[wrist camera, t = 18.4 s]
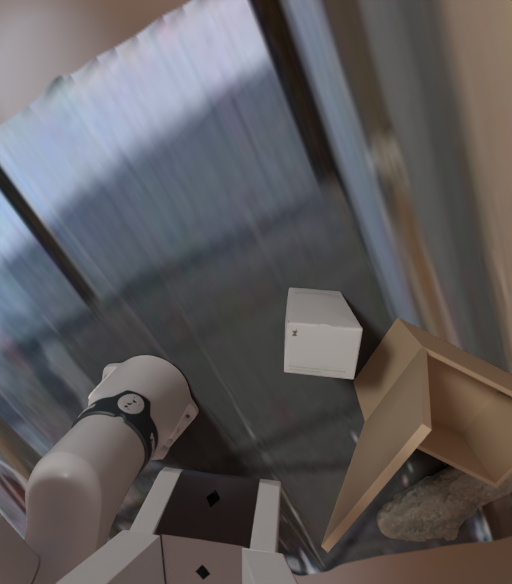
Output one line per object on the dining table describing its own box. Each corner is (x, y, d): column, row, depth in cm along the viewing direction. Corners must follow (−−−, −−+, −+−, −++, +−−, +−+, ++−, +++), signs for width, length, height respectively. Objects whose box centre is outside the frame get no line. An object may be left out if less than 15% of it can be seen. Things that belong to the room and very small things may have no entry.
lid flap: (327, 552, 23) (321, 546, 24) (368, 426, 42) (364, 423, 42) (431, 430, 19) (422, 423, 20) (426, 349, 38) (421, 346, 38)
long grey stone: (573, 443, 51) (537, 400, 51) (604, 468, 46) (564, 420, 46) (396, 540, 59) (362, 504, 59) (405, 569, 54) (369, 530, 54)
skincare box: (285, 323, 50) (279, 374, 36) (288, 283, 48) (284, 320, 34) (337, 328, 49) (354, 383, 35) (343, 289, 48) (364, 328, 33)
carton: (460, 435, 52) (496, 488, 42) (353, 381, 52) (365, 422, 42) (513, 375, 48) (566, 418, 38) (397, 317, 48) (422, 346, 38)
